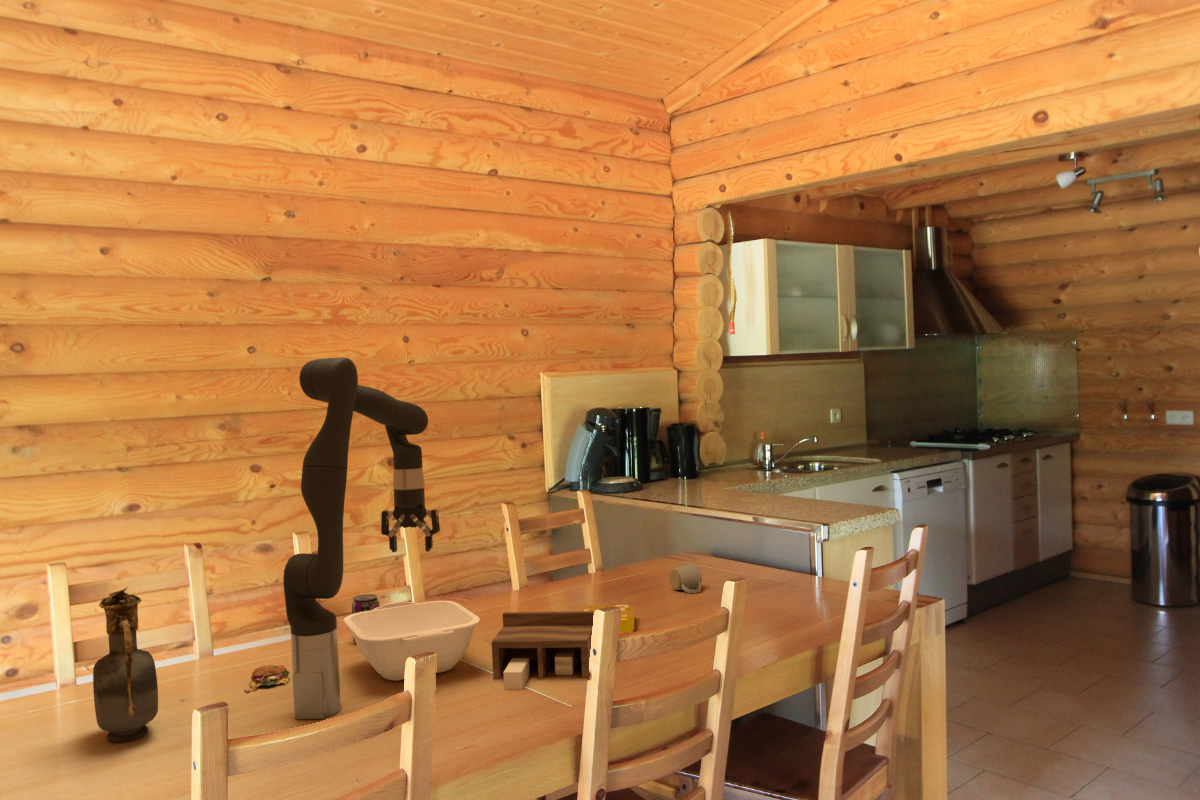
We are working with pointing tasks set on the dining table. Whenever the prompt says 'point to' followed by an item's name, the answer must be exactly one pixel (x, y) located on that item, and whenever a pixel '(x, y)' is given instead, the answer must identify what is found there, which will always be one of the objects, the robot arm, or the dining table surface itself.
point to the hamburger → (268, 676)
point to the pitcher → (124, 674)
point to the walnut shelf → (544, 641)
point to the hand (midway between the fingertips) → (411, 551)
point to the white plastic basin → (412, 634)
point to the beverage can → (364, 603)
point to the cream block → (516, 673)
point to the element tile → (626, 615)
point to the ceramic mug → (686, 578)
